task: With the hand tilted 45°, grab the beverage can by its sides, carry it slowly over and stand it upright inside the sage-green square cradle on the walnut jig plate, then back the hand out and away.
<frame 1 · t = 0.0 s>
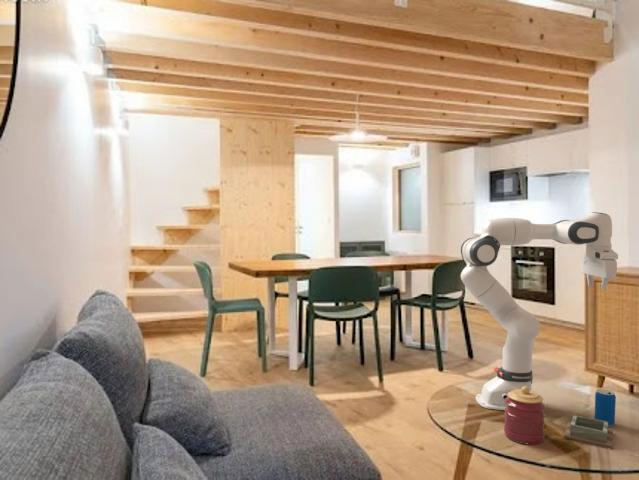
hand: (597, 287, 197), 48 cm above the table, tool pointing down, fingers open, 8 cm apart
canister: (523, 437, 170), on the table
cradle: (588, 436, 171), on the table
beverage can: (604, 424, 182), on the table
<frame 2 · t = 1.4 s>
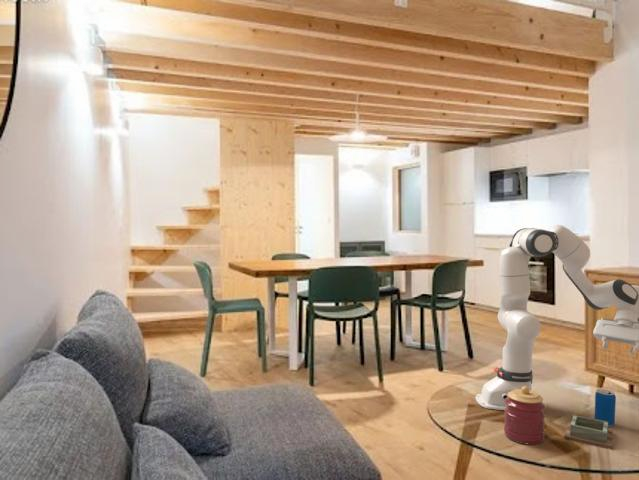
hand: (618, 350, 189), 25 cm above the table, tool tilted 45°, fingers open, 8 cm apart
nothing on the table moved.
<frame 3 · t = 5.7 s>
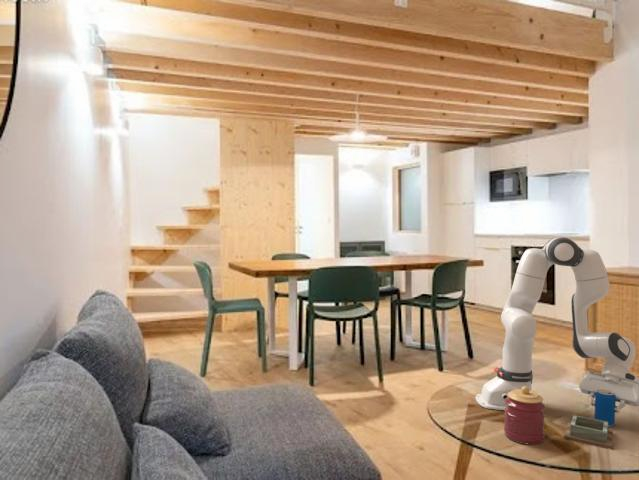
hand: (604, 408, 181), 6 cm above the table, tool tilted 45°, fingers closed on beverage can, 6 cm apart
beverage can: (604, 424, 182), on the table, touching gripper
everything else where it was.
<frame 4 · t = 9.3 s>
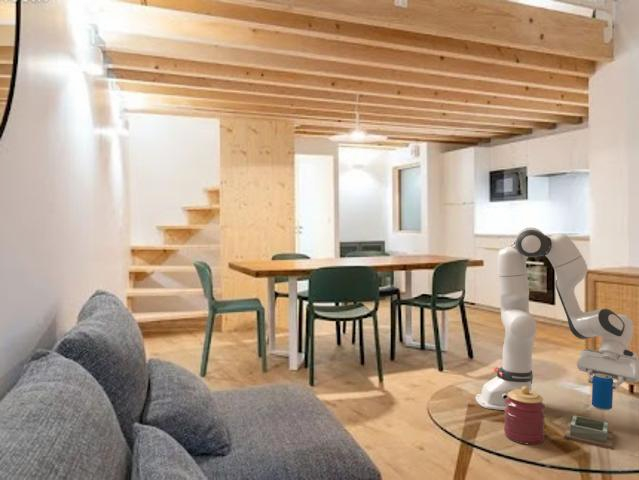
hand: (602, 385, 179), 15 cm above the table, tool tilted 45°, fingers closed on beverage can, 6 cm apart
beverage can: (601, 408, 180), point 7 cm above the table, touching gripper
everything else where it was.
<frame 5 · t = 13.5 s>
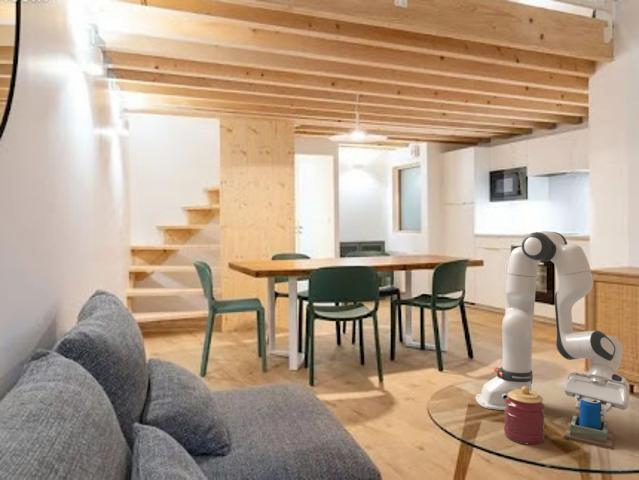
hand: (589, 411, 170), 9 cm above the table, tool tilted 45°, fingers closed on beverage can, 6 cm apart
beverage can: (589, 434, 171), point 1 cm above the table, touching cradle, gripper
everything else where it was.
when the fingers open (8 cm above the table, at t = 14.4 s): beverage can stays where it is, resting on cradle.
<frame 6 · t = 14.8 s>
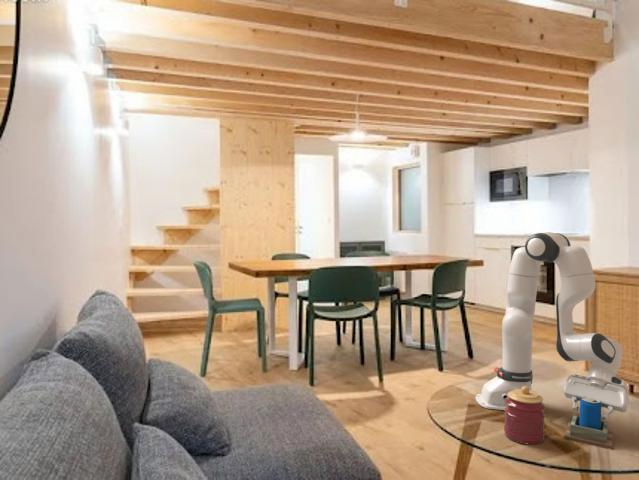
hand: (589, 414, 170), 8 cm above the table, tool tilted 45°, fingers open, 8 cm apart
beverage can: (589, 434, 171), point 1 cm above the table, touching cradle
everything else where it was.
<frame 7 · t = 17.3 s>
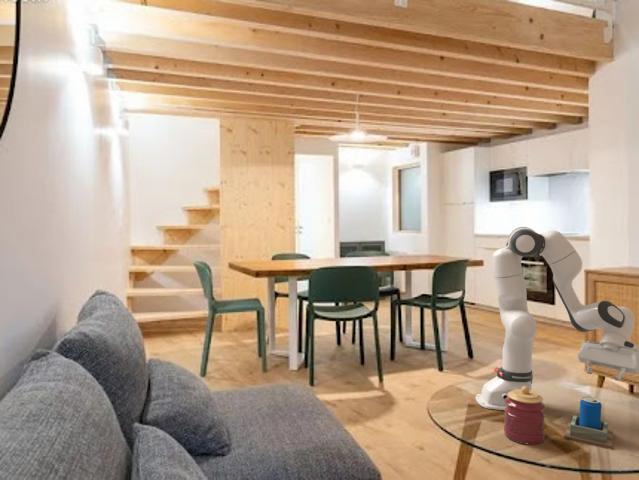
hand: (602, 376, 179), 18 cm above the table, tool tilted 45°, fingers open, 8 cm apart
nothing on the table moved.
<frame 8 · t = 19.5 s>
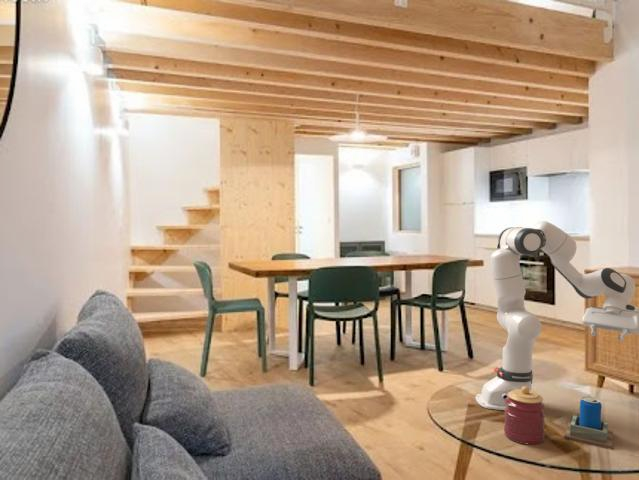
hand: (606, 337, 192), 29 cm above the table, tool tilted 45°, fingers open, 8 cm apart
nothing on the table moved.
at the end: beverage can 0.1 cm off-centre on the cradle, point 0.8 cm above the cradle's base; beverage can tilted 0°; the gripper is holding nothing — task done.
